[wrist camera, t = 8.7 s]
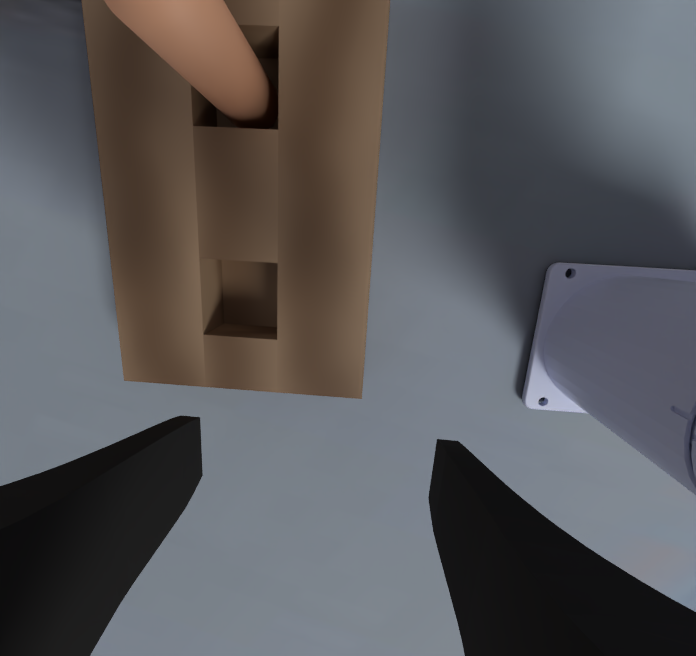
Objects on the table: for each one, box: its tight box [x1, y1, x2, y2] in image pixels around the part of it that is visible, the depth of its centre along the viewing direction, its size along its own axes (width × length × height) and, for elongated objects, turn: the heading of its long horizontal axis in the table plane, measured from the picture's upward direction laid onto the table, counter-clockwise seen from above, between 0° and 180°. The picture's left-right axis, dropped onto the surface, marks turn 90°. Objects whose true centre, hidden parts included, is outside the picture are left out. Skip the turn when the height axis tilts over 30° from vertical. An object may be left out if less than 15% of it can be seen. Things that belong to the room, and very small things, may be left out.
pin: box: [104, 0, 279, 129], centre depth 12 cm, size 2×2×8 cm
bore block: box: [82, 0, 390, 399], centre depth 16 cm, size 12×18×3 cm, turn 177°
